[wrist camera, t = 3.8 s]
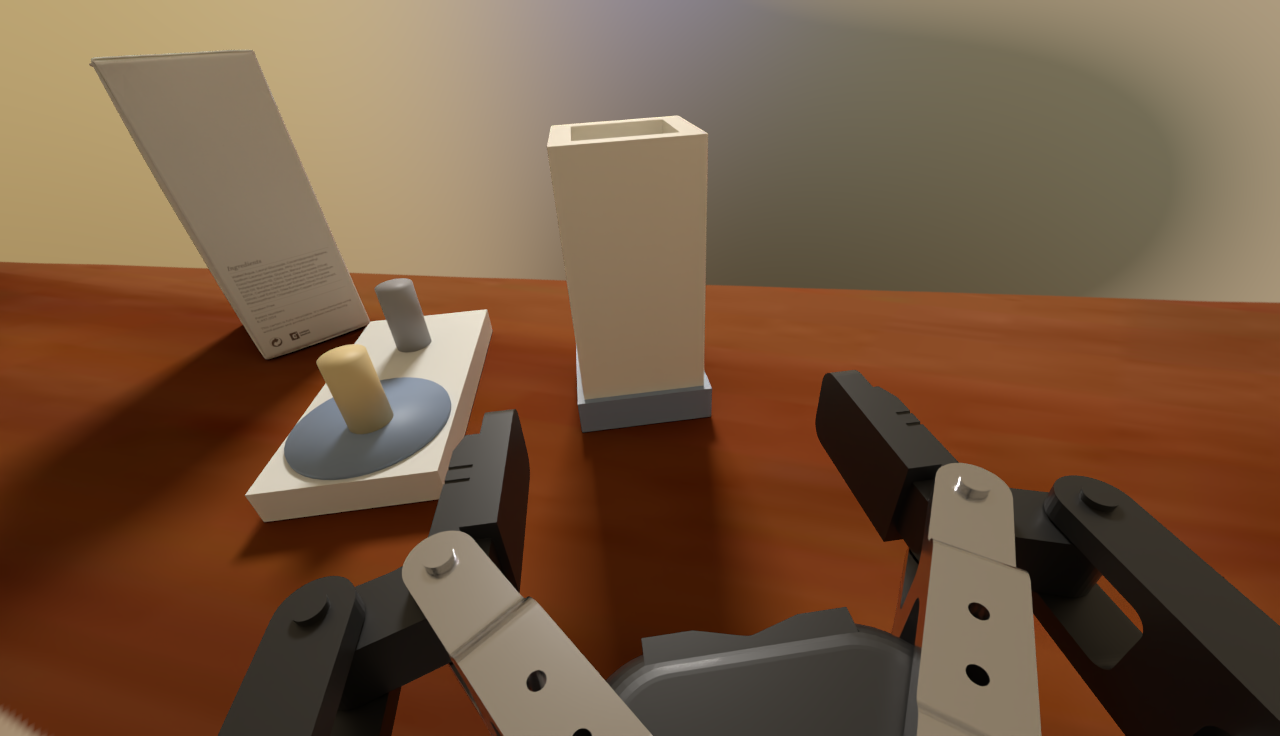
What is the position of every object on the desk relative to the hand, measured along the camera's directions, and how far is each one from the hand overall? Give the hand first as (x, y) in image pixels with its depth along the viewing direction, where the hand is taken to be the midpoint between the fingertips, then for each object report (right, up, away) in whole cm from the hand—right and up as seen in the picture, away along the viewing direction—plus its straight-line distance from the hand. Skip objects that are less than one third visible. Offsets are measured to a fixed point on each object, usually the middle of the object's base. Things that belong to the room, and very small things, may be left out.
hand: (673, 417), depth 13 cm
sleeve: (-1, 0, +12) cm, 12 cm away
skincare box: (-24, +4, +21) cm, 32 cm away
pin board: (-13, -1, +12) cm, 18 cm away
